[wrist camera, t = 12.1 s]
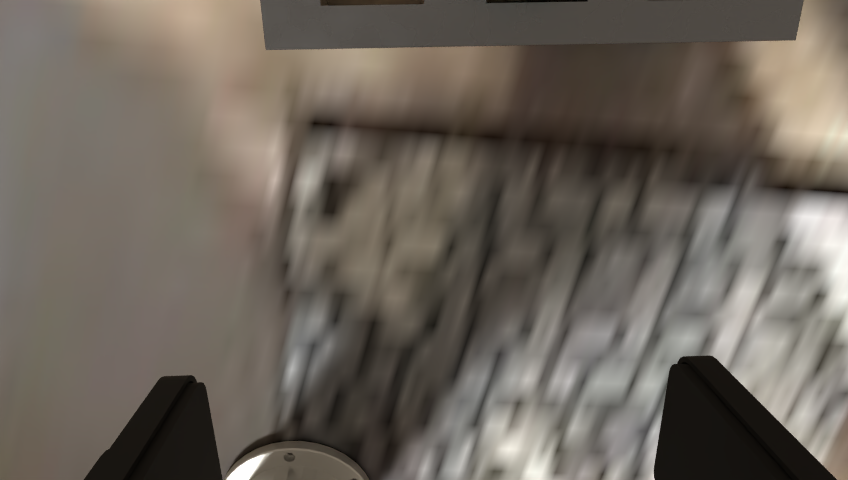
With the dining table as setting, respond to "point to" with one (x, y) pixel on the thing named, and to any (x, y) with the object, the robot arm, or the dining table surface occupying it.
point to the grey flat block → (524, 23)
